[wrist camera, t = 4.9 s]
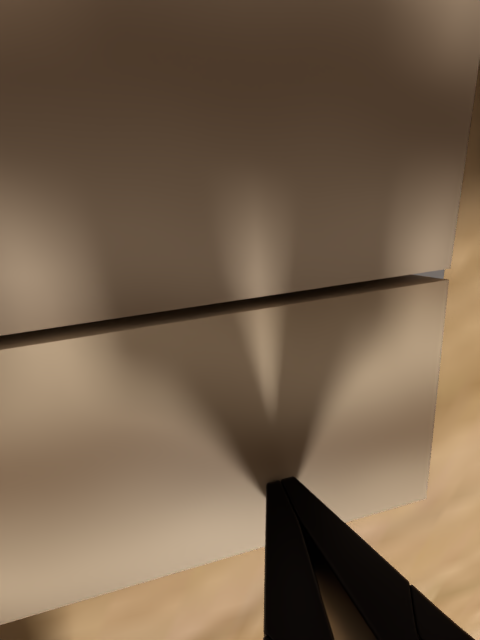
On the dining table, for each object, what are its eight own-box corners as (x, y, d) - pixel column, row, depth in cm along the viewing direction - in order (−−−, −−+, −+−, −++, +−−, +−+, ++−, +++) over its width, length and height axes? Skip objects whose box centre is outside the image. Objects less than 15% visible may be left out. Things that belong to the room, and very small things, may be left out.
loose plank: (393, 464, 11) (425, 498, 10) (-335, 659, 8) (-461, 761, 6) (404, 273, 9) (448, 279, 8) (-598, 421, 6) (-887, 488, 4)
